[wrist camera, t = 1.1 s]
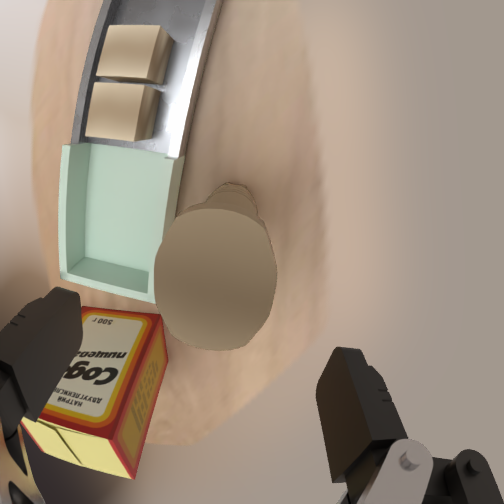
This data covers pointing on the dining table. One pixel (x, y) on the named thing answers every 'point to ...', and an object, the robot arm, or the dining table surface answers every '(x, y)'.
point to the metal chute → (177, 72)
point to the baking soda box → (106, 393)
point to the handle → (216, 272)
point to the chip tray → (115, 215)
